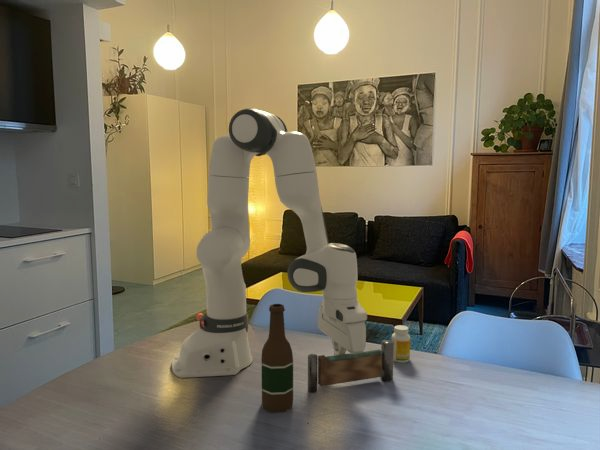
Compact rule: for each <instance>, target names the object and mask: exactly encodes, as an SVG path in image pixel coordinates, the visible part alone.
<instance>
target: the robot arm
mask: <svg viewBox="0 0 600 450" xmlns="http://www.w3.org/2000/svg"><path fill="white" fill-rule="evenodd" d="M287 128H288V127H287V126H286V124H285V121H283V120H282V119H281V118H280V117H279V116H277V115H275V114H273V113H272V112H269V111H266V110H261V109H257V108H252V107H251V108H243V109H240V110H239V111H237V112H235V113H234V114H233V116H232V117H231V118H230V121H229V123H228V133H229V134H225V135H221V136H219V137H217V138H216V139H215V140H214V141H213V145H212V147H211V152H210V158H209V165H208V178H207V179H208V180H207V198H206V199H207V201H206V203H207V204H206V205H207V207H208V210H209V214H210V215H209V216H210V223H211V230H210V231H208V232H207V233H205V234H204V235H203V237H202V238H201V239H200V240H199V243H198V244H197V246H196V257H197V260H198V262H199V264H200V265H201V266H200V267H201V270H202V274H203V279H204V284H205V293H206V294H205V295H206V300H205V301H206V313H205V314H203V313H202V312H199V313H197V314H196V319H197V321H198V322H199V323H198V324H199V328H198V329H196V330H195V331H194V332H193V333H191V334H189V336H188V337H186V338H184V340H183V341H182V342H181V343H182V344H181V345H180V346H181V347H180V351H179V354H177V355H175V356H174V357H173V359H172V361H171V371H172V372H173V374H174V375H175V376H176V377H178V378H180V379H181V378H199V377H218V376H219V377H221V376H222V377H223V376H234V375H237V374H238V373H239V372H240V371H241V370H242V369H244V368H247V367H249V365H251V364H252V363H253V356H252V352H251V350H250V343H249V339H248V338H249V337H248V331H249V315H248V312H247V285H246V283H245V279H244V275H243V269H242V260H243V258H244V257H245V256H246V255H247V253H248V251H249V249H250V246H251V236H250V234H251V233H250V220H249V219H250V217H249V192H250V191H249V189H250V172H251V171H250V170H251V168H250V167H251V162H252V159H253V158H254V157H255V156H256V157H261V156H265V155H267V156H268V157H269V158H270V160H271V163H272V167H273V175H274V182H275V183H274V185H275V188H276V193H277V195H278V199H279V201H280V203H282V204H283V205H284V206H285V207H286V208H288V209H290V210H291V211H293V213H295V214H296V215H297V216H298V217H299V219H300V221H301V225H302V230H303V234H304V235H303V236H304V239H305V245H306V252H305V254H303V255H301V256H299V257H298V256H297V257H296V258H295V259H294V260H292V261H291V262H290V264H289V265H288V268H287V272H286V273H287V274H286V275H287V281H288V282H289V284H290V286H291V287H292V288H293V289H295V290H296V291H298V292H299V293H300V292H301V293H313V292H314V293H315V292H322V300H321V305H320V306H319V307H318V317H317V327H318V330H319V331H321V332H322V333H323V334H324V335H326V336H328V337H329V338H330V340H331V344H332V347H333V356H335V355H342V354H346V352H348V353H351V354H355V353H361V352H364V351H365V349H366V343H367V342H366V341H367V326H366V323H365V321H367V320H368V313H367V311H366V310H365V309H364V308H363V307H362V305H361V303H360V301H359V300H358V292H357V283H358V276H359V275H358V259H357V253H356V251H355V249H354V248H352V247H351V246H349V245H347V244H343V243H338V242H337V243H336V242H329V238H328V233H327V232H328V231H327V226H326V222H325V217H324V212H323V207H322V204H321V196H320V189H319V182H318V174H317V166H316V162H315V156H314V153H313V149H312V146H311V143H310V140H309V138H308V137H307V135H305V133H302V132H299V131H288V129H287Z"/></svg>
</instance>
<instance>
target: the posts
mask: <svg viewBox="0 0 600 450" xmlns="http://www.w3.org/2000/svg"><path fill="white" fill-rule="evenodd" d="M380 347H381V348H380V350H381V352H382V354H381V355H382V364H381V377H380V380H381V381H384V382H392V381H393V380H394V361H393V359H394V342H393V341H391V340H390V339H384V340H381V346H380ZM318 356H319V355H317V353H316V354H315V353H310V354H308V355H307V392H309V393H311V394H314V393H318Z"/></svg>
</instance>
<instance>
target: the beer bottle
mask: <svg viewBox="0 0 600 450" xmlns="http://www.w3.org/2000/svg"><path fill="white" fill-rule="evenodd" d="M285 309H286V308H285V305H284V304H281V303H273V304H270V305H269V308H268V311H269V313H270V314H269V331H268V337H267V339H266V341H265V343H264V344H263V347H262V349H261V407H262V409H263V410H265V411H267V412H270V413H272V414H273V413H285V412H287V411H289V410H291V409H292V408H293V406H294V405H293V404H294V357H293V350H292V347H291V346H292V345H291V343H290V342H289V341H288V339H287V337H286V333H285V331H286V330H285V317H284V316H285V315H284V312H285V311H286V310H285Z"/></svg>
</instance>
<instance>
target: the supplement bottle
mask: <svg viewBox="0 0 600 450" xmlns="http://www.w3.org/2000/svg"><path fill="white" fill-rule="evenodd" d="M393 331H394V332H393V333H392V334H391V340H390V341H393V342H394V359H393V362H396V363H403V364H404V363H408V362H409V361H410V358H411V336H410V334H409V332H410V331H409V327H408V326H407V325H404V324H403V325H401V324H399V325H395V326H394V329H393Z"/></svg>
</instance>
